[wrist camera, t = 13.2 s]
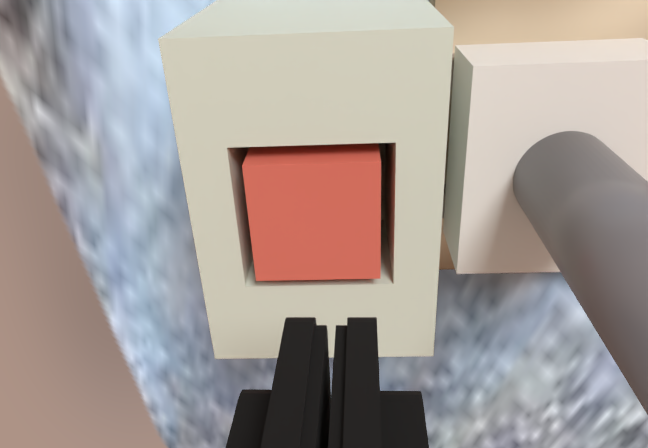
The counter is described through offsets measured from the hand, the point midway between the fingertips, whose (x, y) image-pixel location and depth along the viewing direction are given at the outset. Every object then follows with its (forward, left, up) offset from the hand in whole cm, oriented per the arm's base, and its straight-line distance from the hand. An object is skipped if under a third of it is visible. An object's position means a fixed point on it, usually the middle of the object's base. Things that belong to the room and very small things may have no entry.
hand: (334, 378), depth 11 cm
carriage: (0, -7, -11) cm, 13 cm away
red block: (0, +1, -10) cm, 10 cm away
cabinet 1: (0, +1, -14) cm, 14 cm away
